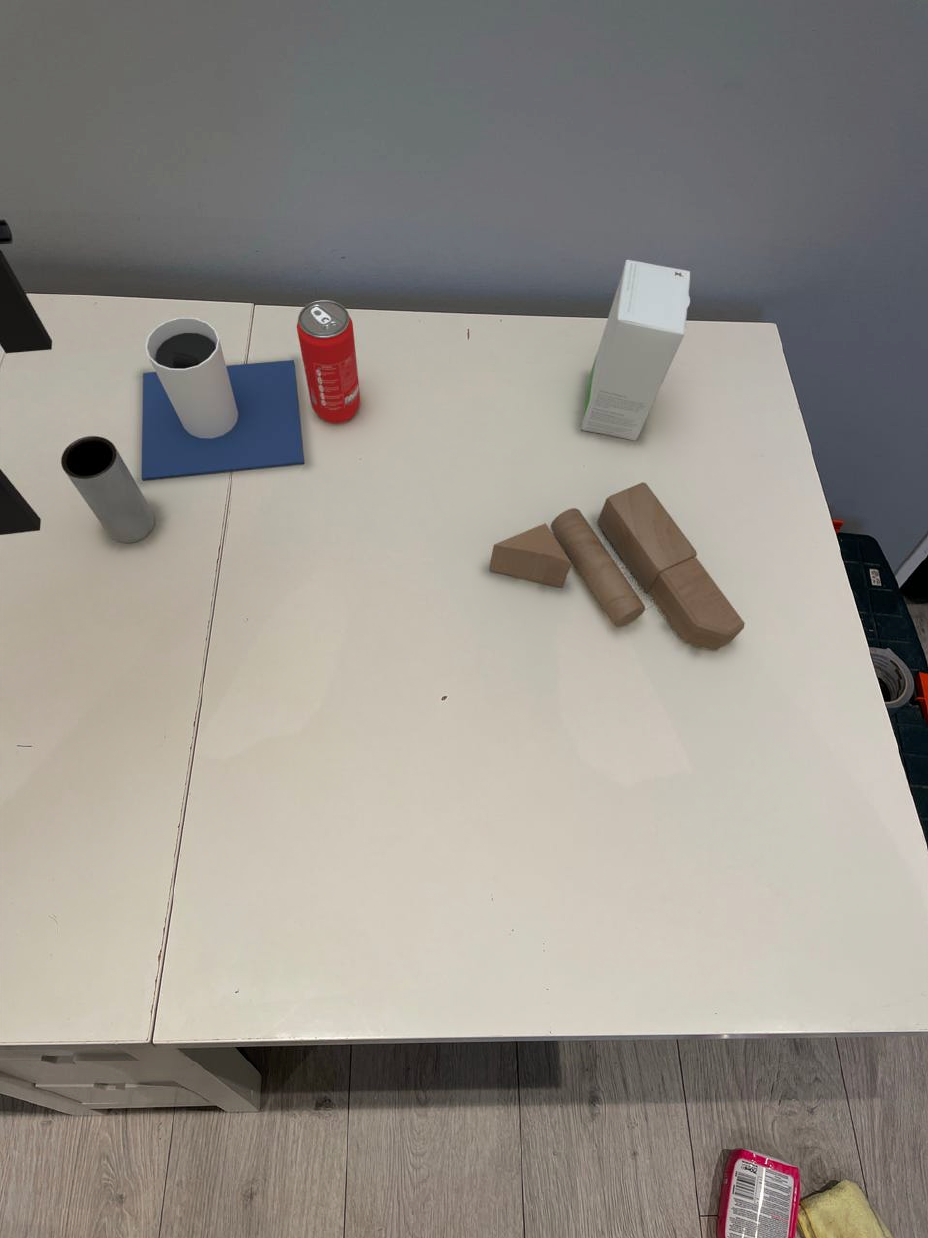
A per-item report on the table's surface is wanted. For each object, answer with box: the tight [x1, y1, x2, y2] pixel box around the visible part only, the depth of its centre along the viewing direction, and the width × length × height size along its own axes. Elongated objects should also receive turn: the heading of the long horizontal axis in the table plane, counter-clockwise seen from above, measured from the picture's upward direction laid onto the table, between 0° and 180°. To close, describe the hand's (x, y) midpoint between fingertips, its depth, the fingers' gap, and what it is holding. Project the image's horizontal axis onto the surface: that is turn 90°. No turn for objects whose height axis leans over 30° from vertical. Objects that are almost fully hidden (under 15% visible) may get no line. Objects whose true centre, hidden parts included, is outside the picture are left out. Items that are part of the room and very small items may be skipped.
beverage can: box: [296, 299, 361, 425], centre depth 74 cm, size 5×5×12 cm
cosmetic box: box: [580, 259, 691, 441], centre depth 74 cm, size 8×7×16 cm
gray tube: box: [60, 435, 156, 544], centre depth 67 cm, size 4×4×10 cm
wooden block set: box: [488, 482, 746, 651], centre depth 68 cm, size 17×6×18 cm
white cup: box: [144, 317, 238, 439], centre depth 72 cm, size 7×7×10 cm
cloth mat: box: [141, 359, 305, 481], centre depth 77 cm, size 16×14×1 cm
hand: (22, 432), depth 43 cm, fingers open, 13 cm apart
